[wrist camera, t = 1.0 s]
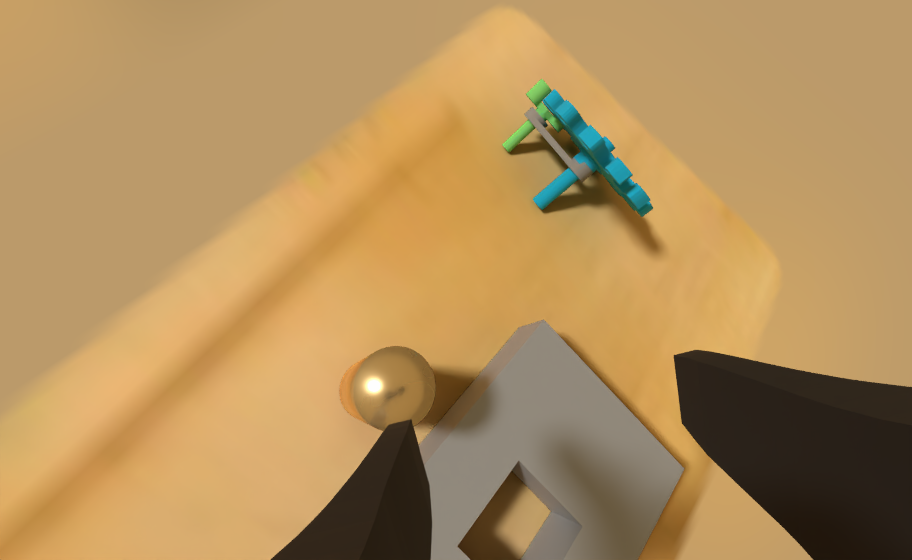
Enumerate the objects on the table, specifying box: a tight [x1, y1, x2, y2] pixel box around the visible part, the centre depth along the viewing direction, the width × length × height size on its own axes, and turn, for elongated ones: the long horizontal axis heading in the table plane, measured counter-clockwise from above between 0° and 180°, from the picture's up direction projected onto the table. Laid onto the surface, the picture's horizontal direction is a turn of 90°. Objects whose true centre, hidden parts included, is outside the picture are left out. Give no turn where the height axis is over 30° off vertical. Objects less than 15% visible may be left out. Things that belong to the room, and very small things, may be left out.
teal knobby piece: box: [502, 79, 653, 217], centre depth 28 cm, size 11×6×10 cm
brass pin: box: [339, 346, 436, 431], centre depth 19 cm, size 3×3×7 cm
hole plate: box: [419, 320, 684, 560], centre depth 22 cm, size 18×12×3 cm, turn 137°
